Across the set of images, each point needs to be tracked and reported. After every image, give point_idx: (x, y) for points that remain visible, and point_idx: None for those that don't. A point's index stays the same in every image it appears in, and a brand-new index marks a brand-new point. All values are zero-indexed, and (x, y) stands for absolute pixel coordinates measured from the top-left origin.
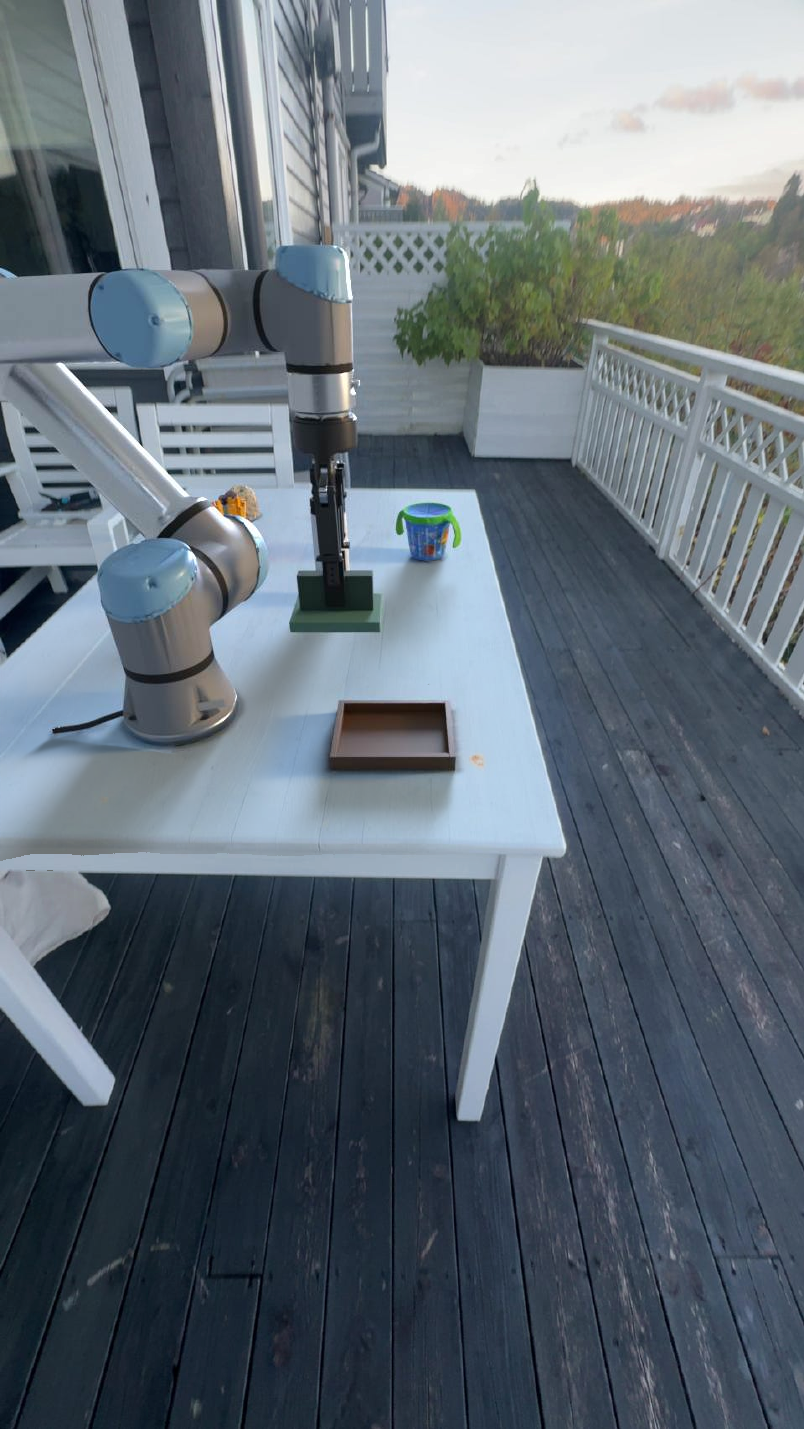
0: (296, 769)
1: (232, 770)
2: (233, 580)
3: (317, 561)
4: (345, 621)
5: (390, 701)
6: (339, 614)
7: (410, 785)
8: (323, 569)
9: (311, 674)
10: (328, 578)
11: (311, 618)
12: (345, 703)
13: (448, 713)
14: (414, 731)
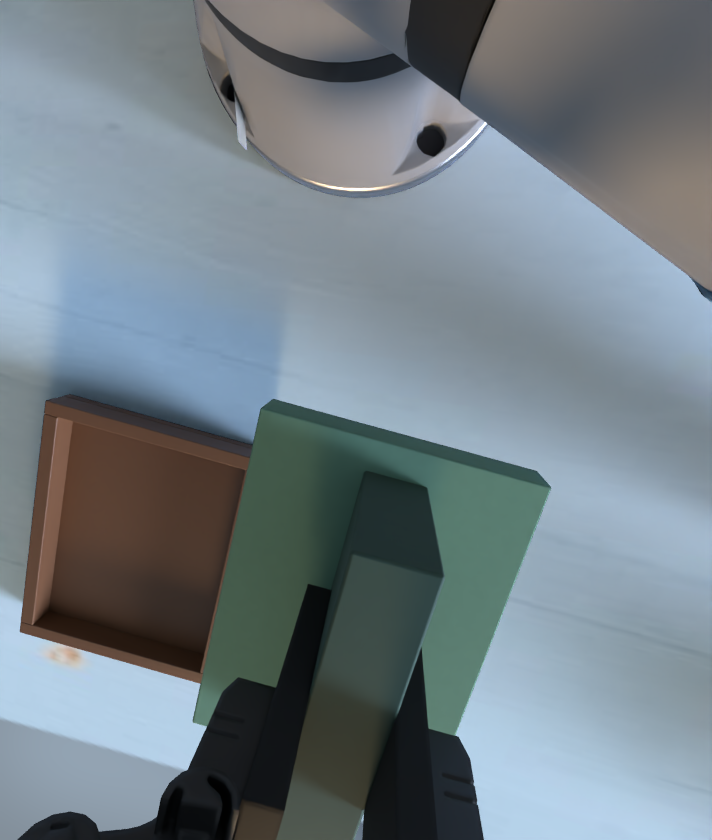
0: (82, 323)
1: (97, 177)
2: (549, 112)
3: (190, 775)
4: (221, 618)
5: None
6: (287, 611)
7: (10, 527)
8: (262, 738)
9: (465, 412)
10: (213, 719)
11: (278, 502)
12: (244, 473)
13: (159, 666)
14: (152, 582)
